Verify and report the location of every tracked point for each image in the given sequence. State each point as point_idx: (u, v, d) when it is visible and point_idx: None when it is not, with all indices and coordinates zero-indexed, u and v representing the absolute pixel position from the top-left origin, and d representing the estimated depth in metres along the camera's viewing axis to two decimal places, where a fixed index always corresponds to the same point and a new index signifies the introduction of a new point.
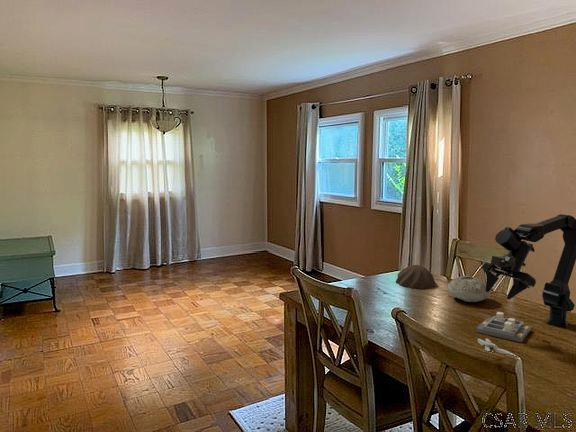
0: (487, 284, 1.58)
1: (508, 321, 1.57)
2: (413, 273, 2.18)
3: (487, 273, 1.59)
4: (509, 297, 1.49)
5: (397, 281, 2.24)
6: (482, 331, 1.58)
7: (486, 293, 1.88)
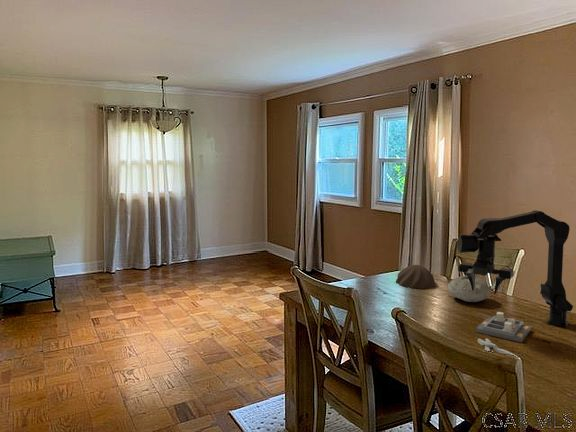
0: (472, 284, 1.69)
1: (508, 321, 1.57)
2: (414, 273, 2.18)
3: (468, 275, 1.68)
4: (496, 292, 1.64)
5: (397, 281, 2.24)
6: (482, 331, 1.58)
7: (486, 293, 1.88)
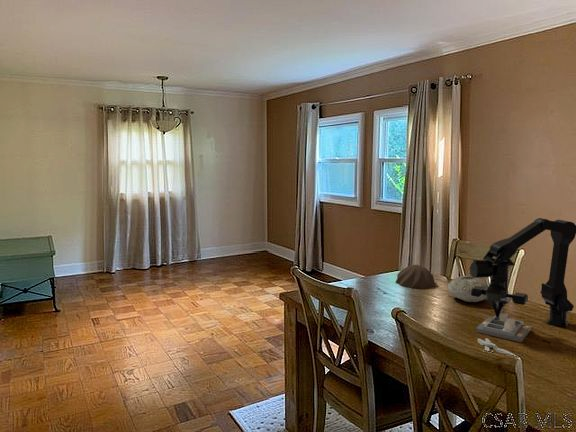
0: (495, 311, 1.64)
1: (508, 321, 1.57)
2: (414, 273, 2.18)
3: (492, 302, 1.63)
4: (499, 315, 1.64)
5: (397, 281, 2.24)
6: (482, 331, 1.58)
7: None
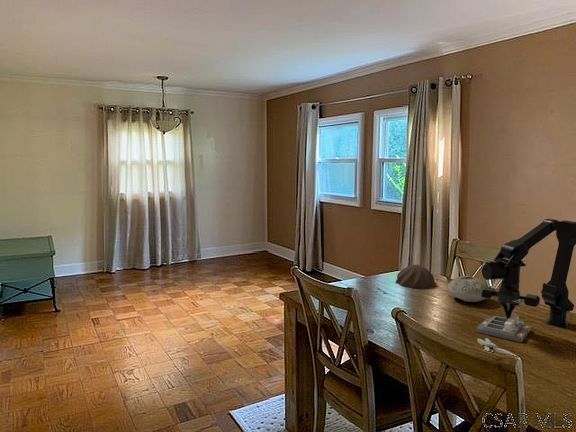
0: (506, 312, 1.62)
1: (508, 321, 1.57)
2: (414, 273, 2.18)
3: (503, 303, 1.61)
4: (509, 317, 1.62)
5: (397, 281, 2.23)
6: (482, 331, 1.58)
7: None
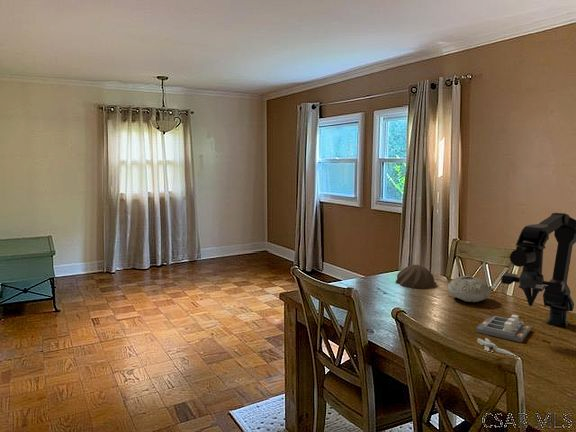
0: (528, 299, 1.52)
1: (508, 321, 1.57)
2: (414, 273, 2.18)
3: (525, 289, 1.52)
4: (532, 304, 1.52)
5: (397, 281, 2.23)
6: (482, 331, 1.58)
7: (486, 293, 1.88)
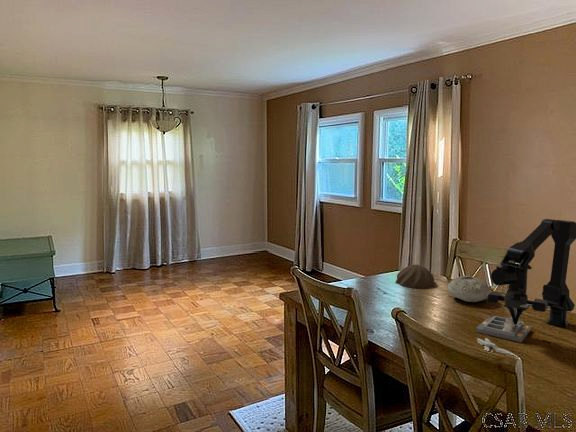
0: (513, 318, 1.56)
1: None
2: (414, 273, 2.18)
3: (510, 308, 1.55)
4: (517, 322, 1.56)
5: (397, 281, 2.23)
6: (482, 331, 1.58)
7: (486, 293, 1.88)
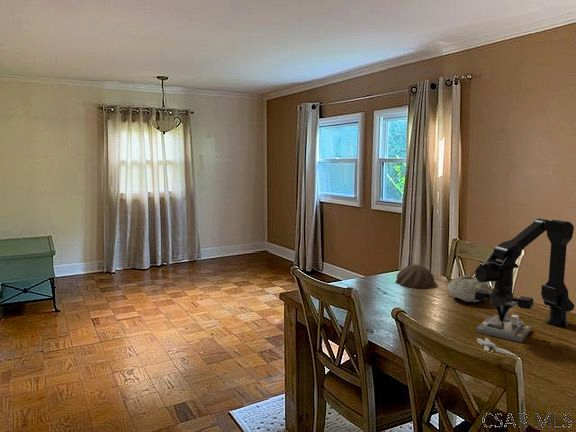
0: (500, 315, 1.59)
1: (493, 318, 1.60)
2: (414, 273, 2.18)
3: (496, 306, 1.58)
4: (503, 320, 1.59)
5: (397, 281, 2.23)
6: (482, 331, 1.58)
7: None
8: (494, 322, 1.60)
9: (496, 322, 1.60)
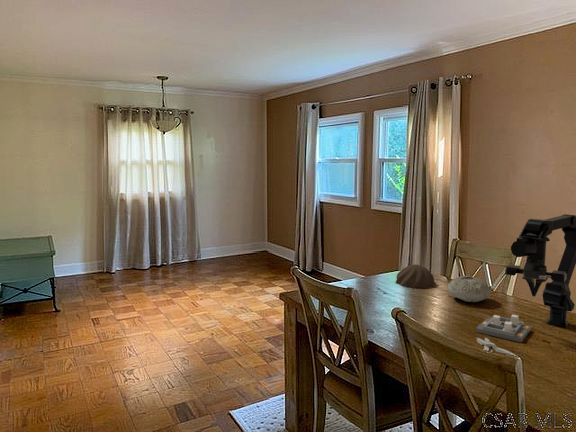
0: (532, 290, 1.58)
1: (493, 318, 1.60)
2: (415, 272, 2.18)
3: (528, 280, 1.57)
4: (535, 294, 1.58)
5: (397, 281, 2.23)
6: (482, 331, 1.58)
7: (486, 293, 1.88)
8: (494, 322, 1.60)
9: (496, 322, 1.60)
